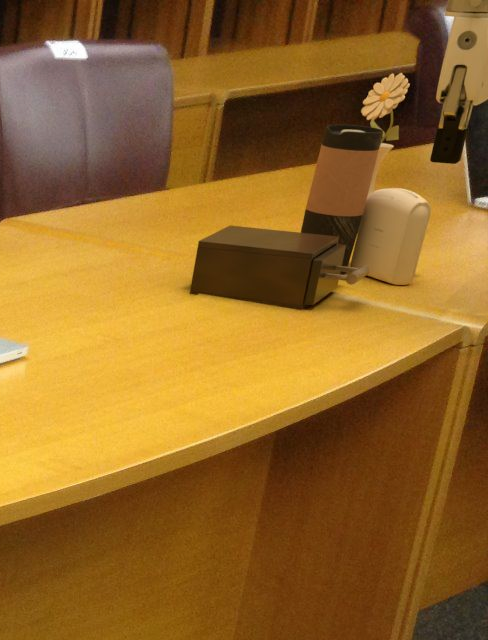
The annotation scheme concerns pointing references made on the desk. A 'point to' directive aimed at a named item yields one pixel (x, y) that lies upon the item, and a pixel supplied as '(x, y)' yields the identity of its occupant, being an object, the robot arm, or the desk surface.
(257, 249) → the cabinet
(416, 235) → the photo printer
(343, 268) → the drawer
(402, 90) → the flower in vase
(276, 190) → the desk surface
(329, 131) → the travel mug
